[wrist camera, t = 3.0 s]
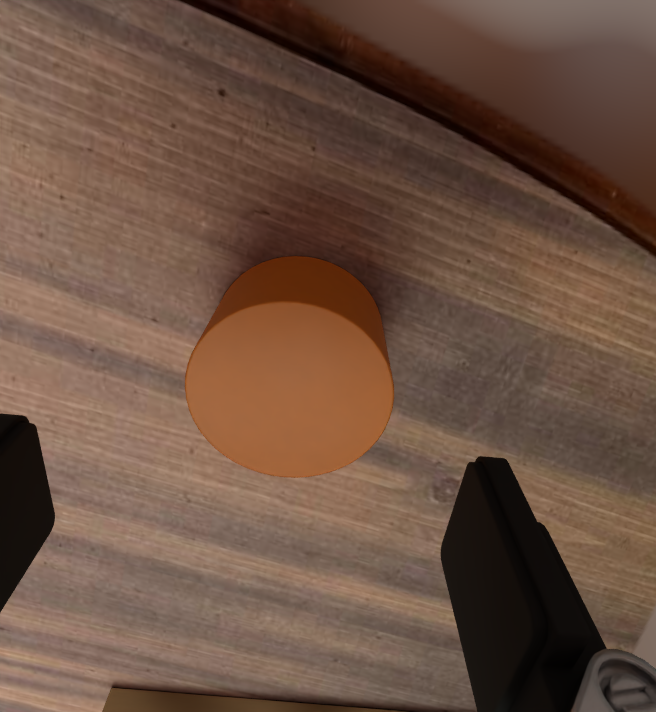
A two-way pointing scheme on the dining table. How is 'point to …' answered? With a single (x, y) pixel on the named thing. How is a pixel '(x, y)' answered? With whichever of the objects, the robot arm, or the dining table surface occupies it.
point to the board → (208, 703)
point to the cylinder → (292, 370)
